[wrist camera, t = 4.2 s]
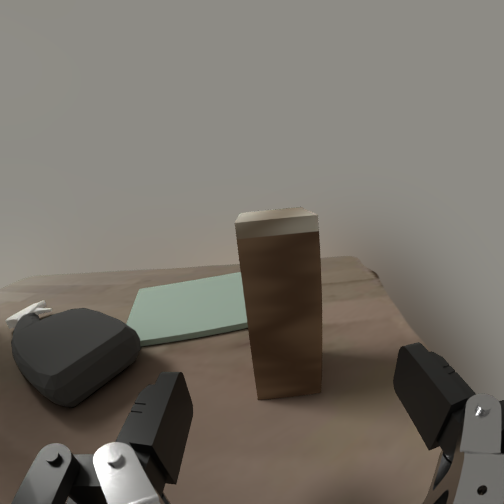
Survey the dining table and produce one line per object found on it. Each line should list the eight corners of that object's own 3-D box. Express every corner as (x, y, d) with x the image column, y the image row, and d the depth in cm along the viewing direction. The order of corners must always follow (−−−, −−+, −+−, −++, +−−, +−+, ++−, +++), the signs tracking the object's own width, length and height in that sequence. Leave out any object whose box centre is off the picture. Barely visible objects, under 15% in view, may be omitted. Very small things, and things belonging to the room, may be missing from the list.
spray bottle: (59, 422, 13) (-1, 338, 24) (156, 348, 22) (54, 307, 34) (36, 390, 12) (-10, 318, 24) (145, 318, 21) (47, 289, 33)
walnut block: (257, 399, 16) (234, 222, 13) (257, 357, 21) (240, 213, 18) (321, 392, 16) (317, 214, 13) (308, 351, 21) (300, 207, 18)
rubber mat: (121, 348, 23) (119, 343, 23) (140, 293, 38) (139, 289, 38) (305, 314, 27) (304, 308, 27) (260, 272, 42) (259, 268, 42)
